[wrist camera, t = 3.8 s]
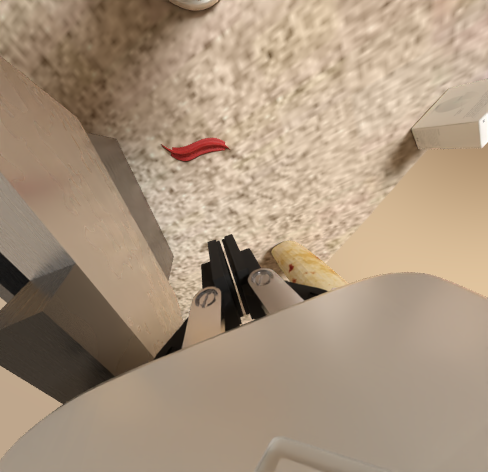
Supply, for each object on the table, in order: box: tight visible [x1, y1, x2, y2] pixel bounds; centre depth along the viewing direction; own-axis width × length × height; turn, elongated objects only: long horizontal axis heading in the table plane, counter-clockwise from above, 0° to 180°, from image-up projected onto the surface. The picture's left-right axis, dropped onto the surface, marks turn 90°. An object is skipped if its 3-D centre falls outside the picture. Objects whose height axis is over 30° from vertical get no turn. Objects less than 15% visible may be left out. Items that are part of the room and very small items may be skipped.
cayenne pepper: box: [161, 138, 229, 161], centre depth 29 cm, size 12×5×2 cm, turn 79°
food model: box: [271, 241, 349, 291], centre depth 35 cm, size 10×7×20 cm
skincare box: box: [411, 79, 488, 149], centre depth 34 cm, size 10×6×10 cm, turn 138°
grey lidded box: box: [0, 133, 174, 303], centre depth 25 cm, size 26×16×12 cm, turn 13°
